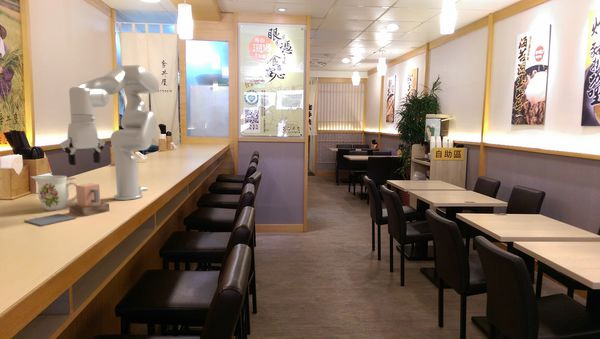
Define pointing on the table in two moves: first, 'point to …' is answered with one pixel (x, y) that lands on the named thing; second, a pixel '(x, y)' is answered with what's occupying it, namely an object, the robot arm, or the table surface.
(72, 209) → the frame
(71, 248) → the table surface
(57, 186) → the pitcher
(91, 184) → the peach block with tab
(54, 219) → the rubber mat
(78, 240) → the table surface
